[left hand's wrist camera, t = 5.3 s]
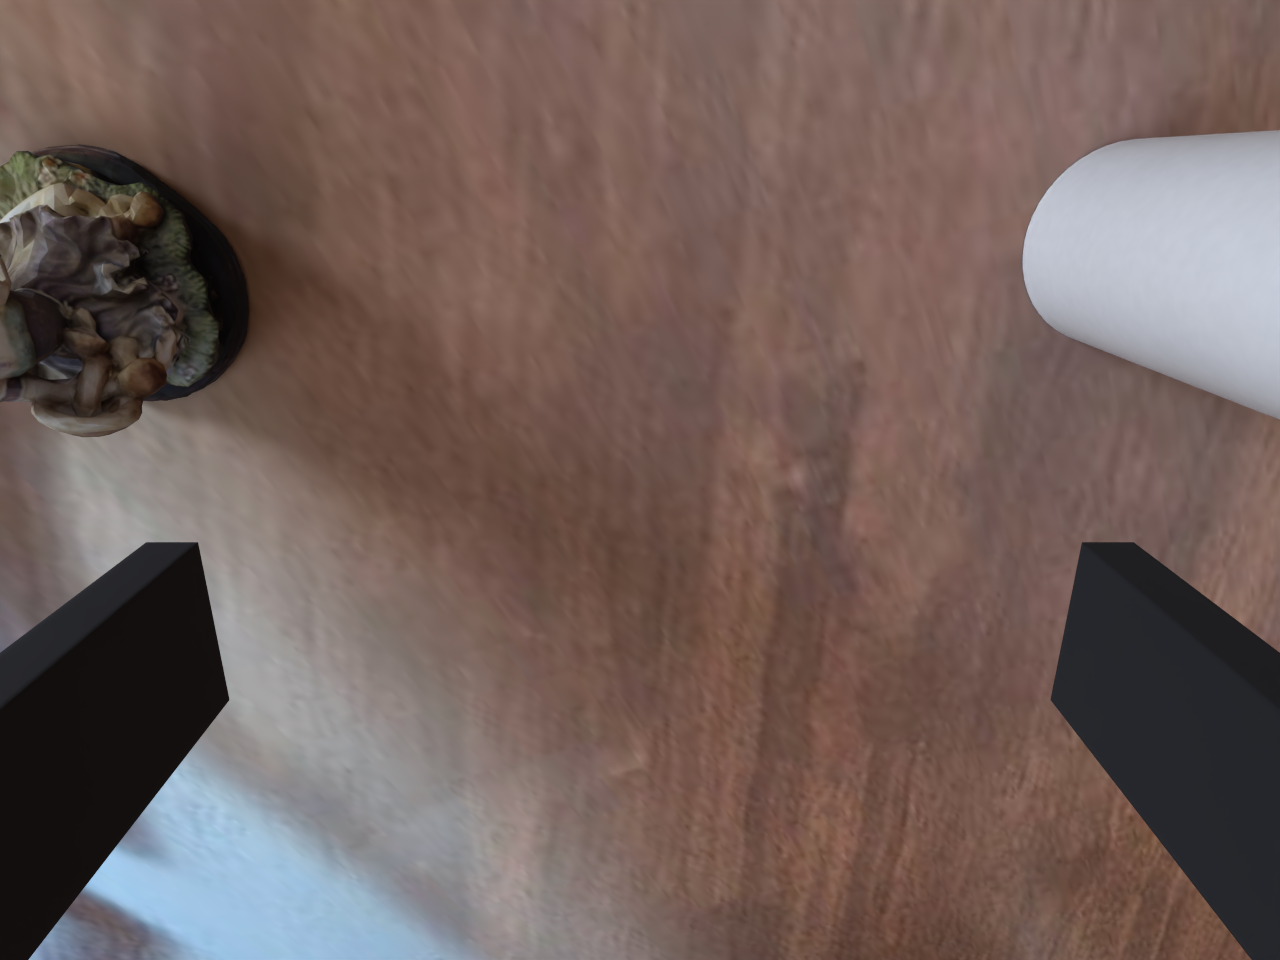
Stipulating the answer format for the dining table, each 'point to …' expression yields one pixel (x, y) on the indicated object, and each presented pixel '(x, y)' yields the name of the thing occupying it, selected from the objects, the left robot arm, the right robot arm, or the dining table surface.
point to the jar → (1169, 259)
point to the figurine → (108, 290)
